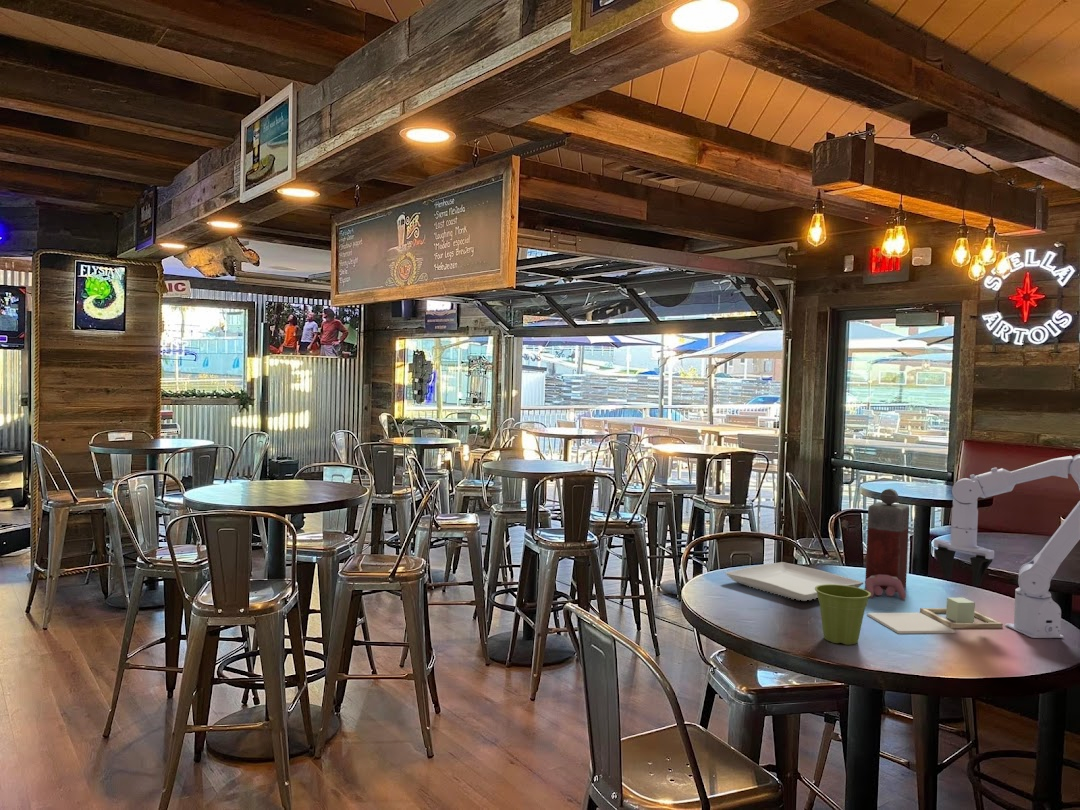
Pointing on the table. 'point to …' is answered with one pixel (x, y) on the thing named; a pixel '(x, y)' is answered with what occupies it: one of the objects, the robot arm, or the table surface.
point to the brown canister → (887, 538)
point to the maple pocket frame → (990, 624)
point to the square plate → (789, 579)
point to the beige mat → (910, 623)
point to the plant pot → (842, 612)
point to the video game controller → (884, 580)
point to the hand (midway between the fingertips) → (961, 581)
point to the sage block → (960, 610)
